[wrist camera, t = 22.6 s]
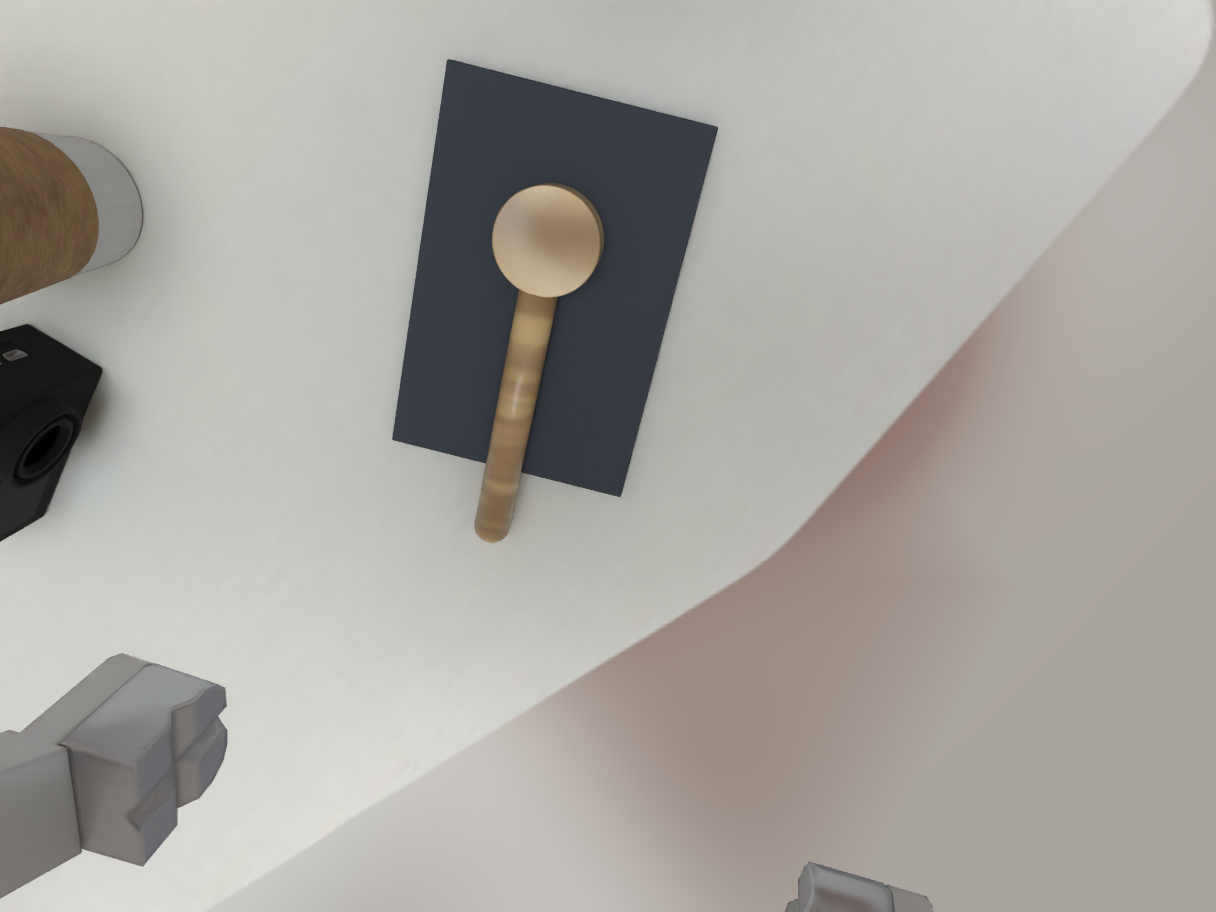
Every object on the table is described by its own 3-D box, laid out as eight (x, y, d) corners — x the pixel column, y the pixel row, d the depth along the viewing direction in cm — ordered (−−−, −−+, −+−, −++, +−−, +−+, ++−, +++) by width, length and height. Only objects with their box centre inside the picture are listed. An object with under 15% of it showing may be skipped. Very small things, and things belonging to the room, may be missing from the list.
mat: (621, 493, 42) (620, 497, 42) (395, 436, 42) (391, 440, 42) (717, 127, 36) (718, 127, 35) (450, 59, 36) (446, 58, 35)
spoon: (537, 543, 43) (531, 560, 42) (448, 521, 43) (439, 537, 42) (614, 197, 37) (611, 200, 35) (510, 171, 37) (502, 172, 35)
